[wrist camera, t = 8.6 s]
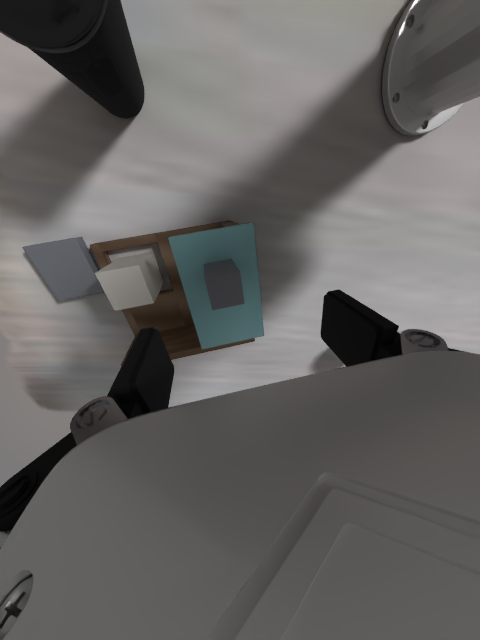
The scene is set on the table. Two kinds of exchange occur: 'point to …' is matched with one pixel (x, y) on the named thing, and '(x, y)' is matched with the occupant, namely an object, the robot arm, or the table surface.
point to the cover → (221, 283)
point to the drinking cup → (81, 46)
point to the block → (131, 281)
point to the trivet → (66, 267)
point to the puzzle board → (164, 296)
